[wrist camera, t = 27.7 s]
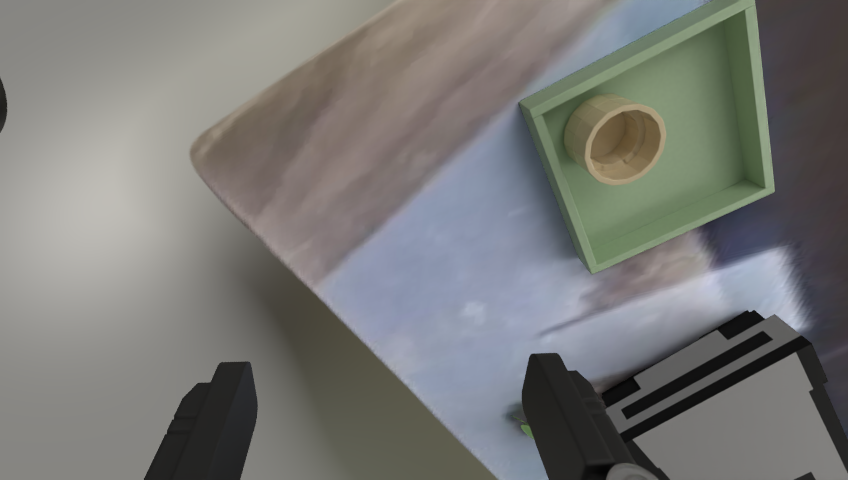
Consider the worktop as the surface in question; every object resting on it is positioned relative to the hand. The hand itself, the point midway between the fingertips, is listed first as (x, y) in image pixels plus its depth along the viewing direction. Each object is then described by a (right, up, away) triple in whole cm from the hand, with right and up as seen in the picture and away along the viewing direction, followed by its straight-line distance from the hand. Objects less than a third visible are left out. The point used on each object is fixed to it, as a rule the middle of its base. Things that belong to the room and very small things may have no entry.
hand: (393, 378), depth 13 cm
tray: (+20, +13, +27) cm, 36 cm away
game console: (+39, -19, +46) cm, 63 cm away
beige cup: (+16, +14, +25) cm, 33 cm away
